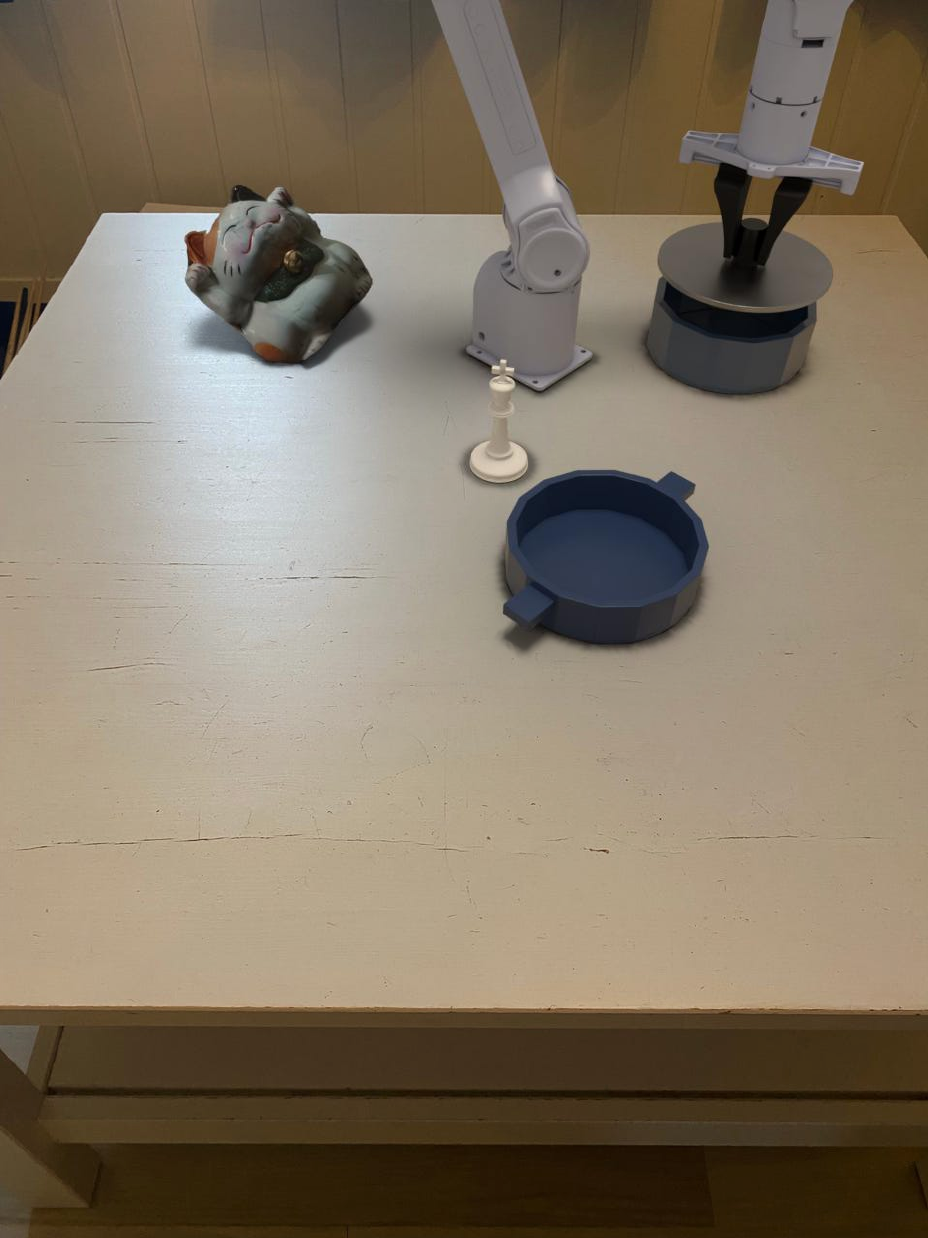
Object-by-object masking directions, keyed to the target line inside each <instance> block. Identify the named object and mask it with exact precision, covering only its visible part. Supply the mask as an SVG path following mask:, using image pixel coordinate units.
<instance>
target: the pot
mask: <svg viewBox="0 0 928 1238" xmlns="http://www.w3.org/2000/svg"><path fill="white" fill-rule="evenodd" d="M656 285H657V286H656V290H655V294H654V299H653V300H654V301H653V305H652V312H651V318H650V323H649V328H648V334H647V340H646V345H645V346H646V348H647V351H648V353H649V355H650V357H651V359H652V360H653V361H654V363H655V364H656V365H657V367H659V368H660V369H661V370H662V371H663V372H665V373H666V374H668V375H669V376H671V377H672V378H674V379H675V380H677V381H679V382H682V383H684V384H686V385H688V386H691V387H694V388H696V389H701V390H705V391H708V392H714V393H719V394H728V395H729V394H731V395H744V394H745V395H747V394H749V395H750V394H755V393H762V392H766V391H770V390H773V389H776V388H778V387H780V386H783V385H784V384H786V383H788V382H789V381H791V379H792V378H794V377H795V375H796V374H797V373H798V371H799V370H800V369H802V368H803V365H804V362H805V359H806V356H807V353H808V350H809V347H810V344H811V340H812V337H813V334H814V331H815V328H816V325H817V321H818V311H817V310H818V309H817V308H818V306H817V305H818V304H817V303H818V300H817V301H815V302H814V303H812V304H810V305H807V306H804V307H802V308H798V309H794V310H789V311H783V312H773V313H753V312H741V311H734V310H729V309H724V308H719V307H716V306H712V305H709V304H706V303H703V302H700V301H698V300H696V299H693V298H691V297H689V296H687V295H685V294H683V293H682V292H680V291H679V290H677V289H676V288H674V287H673V286H672V285H671V284H670V283H669V282H667V280H666V279H665V278H664V277H663V275H662V276H661V277H659V278H658V280H657V284H656Z"/></svg>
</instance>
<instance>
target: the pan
mask: <svg viewBox="0 0 928 1238" xmlns="http://www.w3.org/2000/svg"><path fill="white" fill-rule="evenodd" d="M696 486H697V484H696V483H694V482H692V481H691V480H688V479H687V478H685V477H683V476H682V475H680V474H677V473H676V472H674V471H672V470H670V471H669V472H668V473H666V474H665V475H664V476H663V477H662V478H660V479H659V480H657V481H655V480H653V479H651V478H649V477H646V476H643V475H637V474H634V473H629V472H625V471H621V470H618V469H575V470H573V471H570V472H566V473H562V474H558V475H555V476H552V477H548V478H544V479H543V480H541V481H540V482H539V483H537V484H536V485H534V486H533V487H531V488H530V489H528V490H527V491H526V492H524V493H523V494H522V495H520V496H519V497H518V499H517V501H516V503H515V504H514V506H513V507H512V508H513V509H512V510H511V512H510V514H509V516H508V518H507V521H506V524H505V525H506V527H505V544H504V563H505V578H506V583H507V586H508V588H509V591H510V592H511V594H512V597H510V598H509V599H508V600H507V601H505V602H504V603H503V604H502V605H503V606H502V614H503V615H504V616H506V617H507V618H509V619H510V620H511V621H513V622H514V623H515V624H517V625H519V626H520V627H521V628H523V629H524V630H525V631H527V632H529V631H531V630H532V629H533V628H535V626H538V624H540V625H542V626H544V627H546V628H548V629H549V630H551V631H554V632H556V633H558V634H559V635H561V636H562V635H563V636H565V637H568V638H571V639H575V640H578V641H583V642H588V643H595V644H608V645H609V644H611V645H615V644H627V643H634V642H639V641H643V640H647V639H649V638H652V637H655V636H657V635H659V634H661V633H663V632H665V631H667V630H668V629H670V628H672V627H673V626H674V625H675V624H677V623H678V622H679V621H680V620H681V619H682V618H683V617H684V616H685V615H686V614H687V613H688V612H689V610H690V608H691V607H692V606H693V603H694V601H695V597H696V594H697V592H698V591H697V590H698V587H699V584H700V581H701V578H702V573H703V571H704V567H705V563H706V559H707V556H708V553H709V548H710V545H709V541H708V536H707V534H706V530H705V526H704V523H703V519H702V518H701V517H700V516H699V515H698V514H697V513H696V511H695V510H694V509H693V508H692V507H691V506H690V505H689V504H688V502H687V500H688V499H689V498H691V496H693V495H694V493H695V490H696Z"/></svg>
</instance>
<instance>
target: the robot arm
mask: <svg viewBox="0 0 928 1238" xmlns="http://www.w3.org/2000/svg"><path fill="white" fill-rule="evenodd" d="M853 2H854V0H768V1H767V5H766V8H765V9H766V10H765V15H764V19H763V22H762V26H761V30H760V35H759V39H758V44H757V49H756V52H755V53H756V54H755V59H754V64H753V67H752V72H751V77H750V82H749V86H748V91H747V95H746V100H745V105H744V108H743V113H742V118H741V123H740V127H739V131H738V133H726V132H725V133H724V132H723V133H722V132H705V131H704V132H703V131H696V130H688V131H687V132H686V133H685V135H684V136H683V137H682V140H681V144H680V150H679V156H678V162H679V163H682V164H688V165H690V164H692V163H693V162H694V163H700V164H705V165H710V166H716V167H718V170H717V173H716V176H715V178H714V180H713V191H714V195H715V198H716V200H717V203H718V208H719V212H720V216H721V222H722V224H723V234H724V252H723V257H724V258H728V259H731V257H732V255H733V251H734V247H735V242H736V238H737V234H738V229H739V225H740V222H741V220H743V216H744V210H745V206H746V202H747V199H748V196H749V192H750V187H751V184H752V181H753V177H755V178H760V179H766V180H769V179H773V178H779V179H782V180H781V182H780V183H779V184H778V186H777V188H776V189H775V192H774V193H773V197H772V202H771V203H772V205H771V209H770V214H769V219H768V223H767V224H768V227H767V232H766V235H765V238H764V241H763V244H762V247H761V250H760V253H759V256H758V260H757V265H760V266H765V264H766V262H767V260H768V258H769V256H770V253H771V250H772V248H773V245H774V243H775V241H776V239H777V238H778V236H779V234H780V233H781V231H782V230H783V231H784V229H785V228H786V225H787V224H788V223H789V221H790V220H791V219H792V218H793V216H794V215H795V214H796V213H797V212H798V210H799V209H800V208H801V206H803V204H804V202H805V201H806V200H807V198H808V196H809V194H810V192H811V190H812V188H813V186H814V185H815V186H821V187H824V188H825V187H826V188H831V189H836V190H839V193H840V194H844V195H849V196H853V195H854V194H855V191H856V190H857V187H858V183H859V180H860V178H861V174H862V171H863V167H864V165H865V162H864V161H860V160H855V159H851V158H848V157H844V156H842V155H838V154H835V153H832V152H829V151H826V150H823V149H820V148H818V147H815V146H812V145H811V144H812V140H813V136H814V132H815V130H816V129H815V128H816V125H817V121H818V117H819V114H820V111H821V106H822V103H823V99H824V96H825V92H826V88H827V85H828V81H829V77H830V73H831V69H832V67H833V62H834V58H835V56H836V51H837V47H838V44H839V41H840V36H841V33H842V28H843V24H844V21H845V17H846V14H847V11H848V9H849V8H850V6H851V4H852V3H853ZM431 3H432V6H433V8H434V11H435V14H436V17H437V19H438V22H439V25H440V27H441V30H442V34H443V36H444V38H445V41H446V43H447V44H446V45H447V47H448V49H449V52H450V55H451V58H452V60H453V61H452V62H453V63H454V67H455V69H456V71H457V74H458V77H459V80H460V82H461V86H462V87H463V91H464V94H465V96H466V99H467V101H468V105H469V108H470V110H471V112H472V116H473V119H474V121H475V123H476V126H477V129H478V132H479V135H480V137H481V140H482V142H483V145H484V149H485V151H486V154H487V156H488V159H489V161H490V164H491V165H490V166H491V167H492V171H493V173H494V175H495V179H496V181H497V184H498V187H499V190H500V193H501V196H502V199H503V200H502V207H501V215H502V221H503V224H504V227H505V229H506V231H507V234H508V238H509V242H510V244H509V245H508V247H507V249H506V250H497V251H496V252H494V253H492V254H491V255H489V257H488V258H487V259H486V260H485V261H484V262H483V263H482V265H481V266H480V268H479V270H478V272H477V274H476V277H475V282H474V285H473V291H472V338H471V339H472V343H471V344H469V345H468V346H466V353H467V354H468V355H470V356H472V357H474V358H476V359H478V360H480V361H481V362H483V363H485V364H487V365H489V366H490V367H492V366H500V361H501V359H502V360H507V362H506V367H509V368H514V375H513V376H510V378H512V379H515V380H517V382H519V383H522V384H524V385H526V386H528V387H530V388H531V389H533V390H535V391H538V392H541V391H544V390H546V389H547V388H549V387H551V385H553V384H555V383H556V382H558V381H560V380H561V379H563V378H564V377H565V376H567V375H569V374H570V373H572V372H573V371H574V370H576V369H577V368H579V367H581V366H582V365H584V364H585V363H587V362H588V361H591V359H592V358H593V352H592V351H590V350H589V349H586V348H585V347H582V346H581V345H579V344H576V337H577V328H578V318H579V307H580V300H581V299H580V298H581V289H582V281H583V274H584V273H585V271H586V269H587V267H588V264H589V262H590V258H591V257H590V256H591V247H590V242H589V239H588V237H587V234H586V233H585V231H584V230H583V229H582V225H581V224H580V221H579V217H578V214H577V211H576V209H575V205H574V199H573V195H572V192H571V191H570V189H569V187H568V185H567V184H566V183H565V181H563V180H562V179H561V178H560V177H559V176H557V174H556V173H555V171H554V170H553V167H552V164H551V160H550V157H549V154H548V150H547V148H546V145H545V141H544V138H543V135H542V133H541V129H540V126H539V122H538V119H537V115H536V113H535V110H534V106H533V104H532V101H531V97H530V95H529V91H528V88H527V85H526V81H525V78H524V75H523V72H522V69H521V66H520V63H519V60H518V56H517V53H516V50H515V46H514V44H513V41H512V38H511V35H510V31H509V28H508V25H507V21H506V18H505V15H504V12H503V9H502V6H501V3H500V0H431Z"/></svg>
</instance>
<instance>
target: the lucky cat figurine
mask: <svg viewBox="0 0 928 1238" xmlns="http://www.w3.org/2000/svg"><path fill="white" fill-rule="evenodd" d="M230 192H231V193H230V197H229V199H228V203H227V205H226V206H224V207H223V208H222V209H221V211H220V212H219V213H218V215H217V217H216V218H215V219H214V221H213V223H212V224H211V227H210V229H209V231H208V232H207V229H204V230H200V231H197V230H191V231H189V232H188V233H187V234H185V235H184V239H183V242H184V243H185V245H186V257H187V268H186V272H185V275H184V282H185V284H186V286H187V287H188V289H189V290H190V292H191V293H192V294H193V295H195V296H196V297H197V298H198V299H199V300H200V301H201V303H202V304H203V305H204V306H206V307H207V308H208V309H209V310H211V311H213V312H214V313H215V314H216V315H217V316H218V317H219V318H220V319H222V320H223V321H224V323H227V324H228V325H229V326H231V327H232V328H233V329H235V330H236V331H237V332H238V333H239V334H240V335H241V336H243V338H244V339H246V341H248V342H249V343H250V344H251V346H252V348H253V351H254V352H255V353H256V354H257V355H259V356H260V357H261V358H263V359H264V360H266V361H268V362H276V363H292V364H298V363H300V362H301V360H303V361H306V360H307V359H308V358H309V357H310V356H312V355H313V354H315V353H317V352H318V351H319V350H320V349H322V347H324V345H325V343H327V341H328V340H329V338H330V336H331V335H332V333H333V332H334V331H335V330H336V329H337V328H338V326H339V325H340V324H341V323H342V322H343V321H344V319H345V318H346V317H348V315H350V313H351V312H352V311H353V310H355V308H356V307H357V306H358V305H359V304H360V303H361V302H362V301H363V300H364V299H365V298H366V297H367V294H368V293H369V292H370V290H371V289H372V286H373V284H374V279H373V277H372V275H371V273H370V271H369V269H368V268H367V266H366V265H365V263H364V261H363V260H362V258H361V256H360V255H359V253H358V252H357V251H356V250H355V249H354V248H353V247H351V245H350V246H349V245H348V244H346V243H345V242H342V241H339V240H336V239H332V238H327V237H324V236H323V235H322V233H321V232H322V231H321V229H320V227H319V225H318V223H317V220H315V219H313V218H312V217H311V215H310V214H309V213H308V212H307V211H305V210H304V209H303V208H301V207H300V206H298V205H296V204H295V202H294V200H293V198H292V195H291V194H290V193H289V191H288V190H287V189H286V188H285V187H282V186H278V187H275V188H274V190H273V191H272V192H271V193H270V194H269V196H268V197H267V198H266V197H264V196H263V195H261V194H258V193H256V192H255V191H253V189H251V188H249V187H247V186H246V185H243V184H236V185H234V186H232V187H231V191H230Z"/></svg>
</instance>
